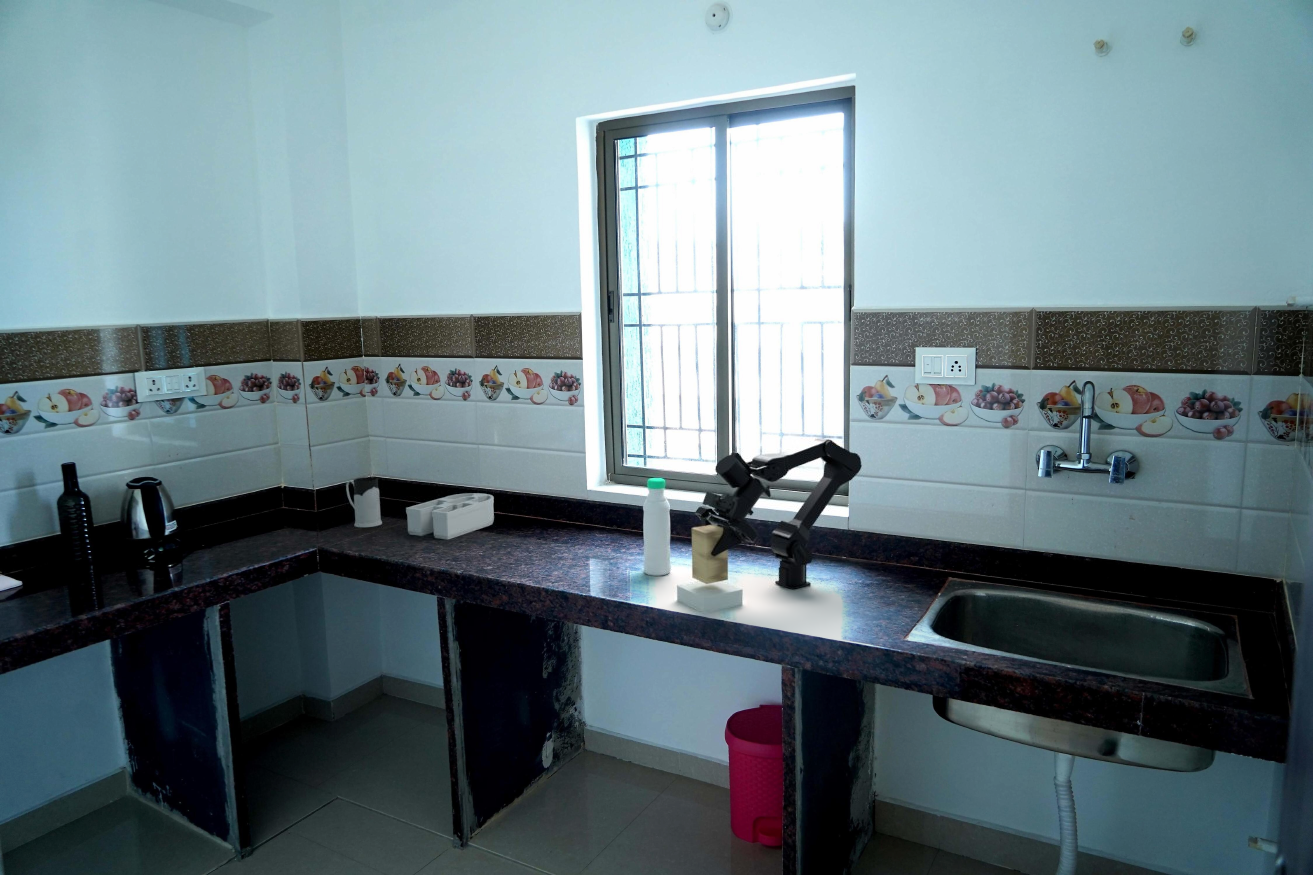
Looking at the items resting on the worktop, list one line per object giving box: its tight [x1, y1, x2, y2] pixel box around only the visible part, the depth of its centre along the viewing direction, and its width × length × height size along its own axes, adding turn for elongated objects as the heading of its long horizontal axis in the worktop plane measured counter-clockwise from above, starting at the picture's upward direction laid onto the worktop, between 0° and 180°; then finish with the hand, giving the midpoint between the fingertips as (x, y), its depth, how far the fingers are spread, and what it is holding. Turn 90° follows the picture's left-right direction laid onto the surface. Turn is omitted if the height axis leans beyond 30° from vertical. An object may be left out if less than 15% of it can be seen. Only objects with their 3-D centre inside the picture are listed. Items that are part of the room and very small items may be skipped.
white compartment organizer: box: [405, 492, 495, 540], centre depth 283 cm, size 17×28×9 cm, turn 152°
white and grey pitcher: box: [345, 476, 383, 528], centre depth 290 cm, size 9×14×15 cm, turn 57°
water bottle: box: [642, 477, 672, 577], centre depth 229 cm, size 7×7×25 cm
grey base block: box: [676, 580, 744, 614], centre depth 207 cm, size 11×11×4 cm
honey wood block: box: [691, 525, 729, 584], centre depth 205 cm, size 6×6×12 cm
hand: (704, 552), depth 205 cm, fingers closed on honey wood block, 6 cm apart
